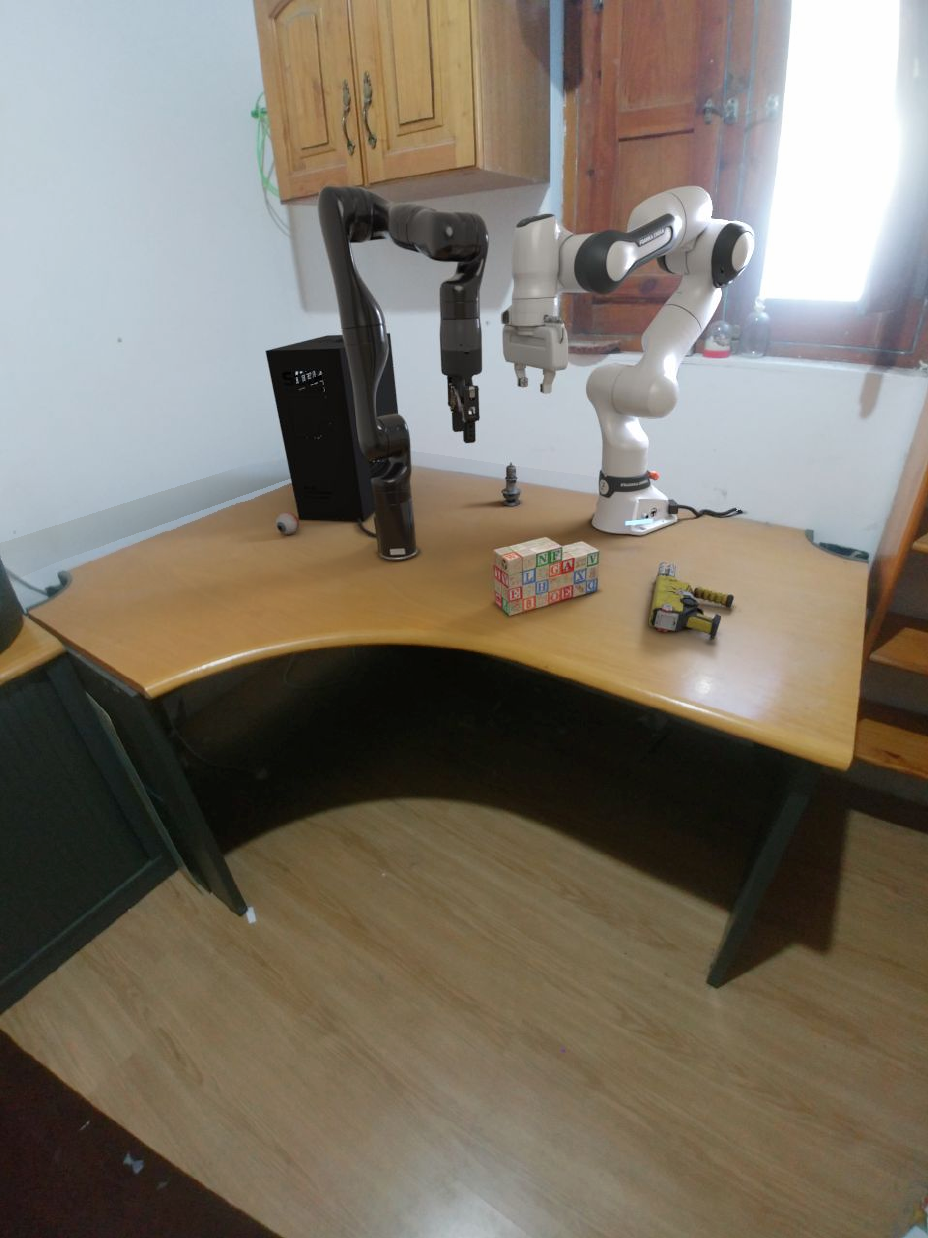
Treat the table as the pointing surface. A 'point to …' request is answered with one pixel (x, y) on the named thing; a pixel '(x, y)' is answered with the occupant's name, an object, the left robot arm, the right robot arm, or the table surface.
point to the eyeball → (287, 523)
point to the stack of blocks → (543, 573)
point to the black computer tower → (325, 427)
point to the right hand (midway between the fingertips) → (533, 389)
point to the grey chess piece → (511, 487)
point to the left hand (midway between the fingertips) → (463, 436)
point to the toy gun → (683, 604)
